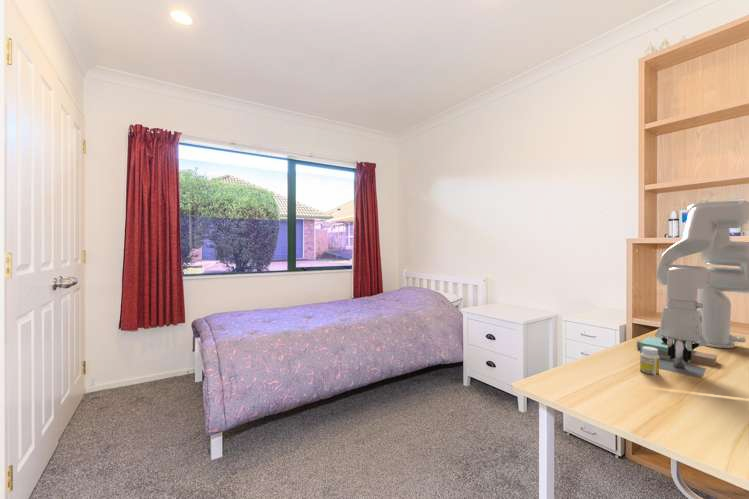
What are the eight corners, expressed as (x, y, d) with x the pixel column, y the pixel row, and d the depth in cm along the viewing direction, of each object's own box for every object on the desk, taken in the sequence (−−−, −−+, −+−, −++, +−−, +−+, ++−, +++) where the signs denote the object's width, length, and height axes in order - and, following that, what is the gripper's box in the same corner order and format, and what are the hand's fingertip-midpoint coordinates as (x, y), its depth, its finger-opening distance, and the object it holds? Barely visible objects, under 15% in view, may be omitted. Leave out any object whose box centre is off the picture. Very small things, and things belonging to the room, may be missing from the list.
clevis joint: (717, 361, 121) (717, 349, 121) (713, 370, 113) (713, 356, 113) (641, 346, 137) (641, 335, 137) (633, 353, 129) (633, 341, 129)
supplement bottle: (652, 371, 112) (653, 346, 112) (662, 377, 107) (663, 351, 107) (636, 370, 112) (637, 345, 112) (646, 376, 108) (647, 350, 107)
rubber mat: (706, 370, 113) (706, 368, 113) (701, 380, 105) (701, 378, 105) (659, 360, 122) (659, 358, 122) (651, 368, 114) (651, 366, 114)
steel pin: (682, 366, 115) (683, 336, 114) (687, 369, 112) (688, 339, 111) (671, 365, 116) (672, 335, 115) (675, 368, 113) (676, 338, 112)
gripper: (717, 307, 109) (715, 364, 110) (652, 300, 121) (650, 351, 122) (715, 310, 104) (712, 370, 105) (647, 302, 117) (645, 356, 117)
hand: (679, 359), depth 114 cm, fingers closed on steel pin, 3 cm apart
